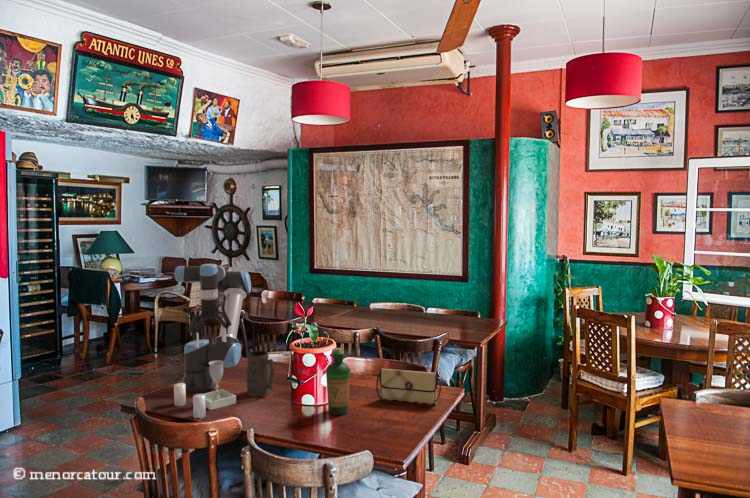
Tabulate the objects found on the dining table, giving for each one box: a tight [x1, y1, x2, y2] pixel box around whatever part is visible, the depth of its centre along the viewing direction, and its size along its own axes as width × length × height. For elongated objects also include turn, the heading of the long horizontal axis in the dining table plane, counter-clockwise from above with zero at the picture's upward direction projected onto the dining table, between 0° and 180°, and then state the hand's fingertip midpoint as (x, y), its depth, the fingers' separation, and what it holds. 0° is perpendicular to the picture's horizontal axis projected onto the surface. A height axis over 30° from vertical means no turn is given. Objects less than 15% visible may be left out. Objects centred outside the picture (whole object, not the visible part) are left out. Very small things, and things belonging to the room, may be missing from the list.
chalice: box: [209, 360, 224, 401], centre depth 249 cm, size 7×7×18 cm
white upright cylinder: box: [173, 382, 187, 407], centre depth 248 cm, size 5×5×9 cm
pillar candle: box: [192, 393, 207, 419], centre depth 234 cm, size 5×5×9 cm
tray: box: [204, 388, 237, 411], centre depth 250 cm, size 13×13×4 cm
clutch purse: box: [375, 367, 442, 408], centre depth 249 cm, size 30×7×15 cm, turn 74°
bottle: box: [325, 347, 351, 416], centre depth 238 cm, size 11×11×28 cm
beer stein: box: [246, 350, 275, 398], centre depth 262 cm, size 15×11×20 cm
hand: (210, 344), depth 250 cm, fingers open, 13 cm apart
